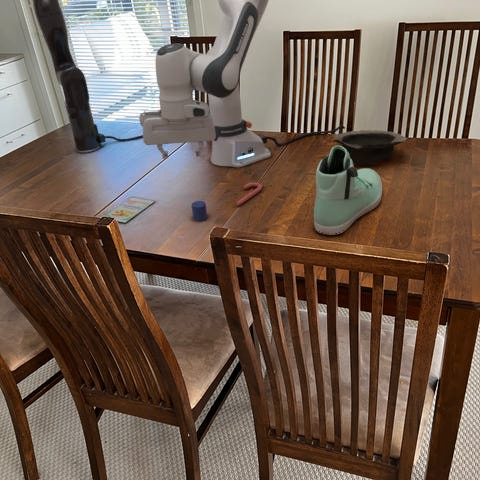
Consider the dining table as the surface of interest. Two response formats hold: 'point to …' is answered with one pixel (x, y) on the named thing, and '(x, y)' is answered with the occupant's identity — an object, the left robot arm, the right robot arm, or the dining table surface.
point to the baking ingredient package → (129, 209)
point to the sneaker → (343, 192)
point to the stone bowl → (369, 145)
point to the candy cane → (250, 192)
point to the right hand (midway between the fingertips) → (182, 156)
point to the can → (199, 210)
